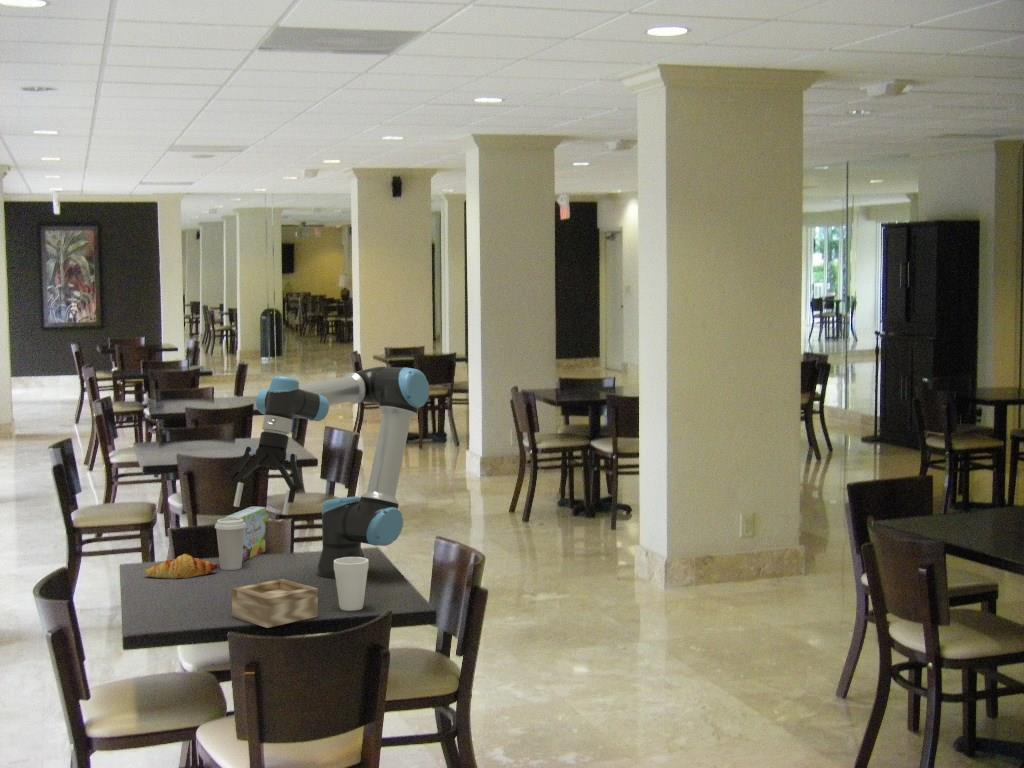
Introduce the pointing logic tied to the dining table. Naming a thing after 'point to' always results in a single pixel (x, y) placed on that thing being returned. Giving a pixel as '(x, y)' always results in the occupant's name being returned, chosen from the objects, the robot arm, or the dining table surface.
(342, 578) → the foam cup
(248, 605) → the wooden box
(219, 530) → the coffee cup
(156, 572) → the croissant
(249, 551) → the snack box
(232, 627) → the dining table surface
